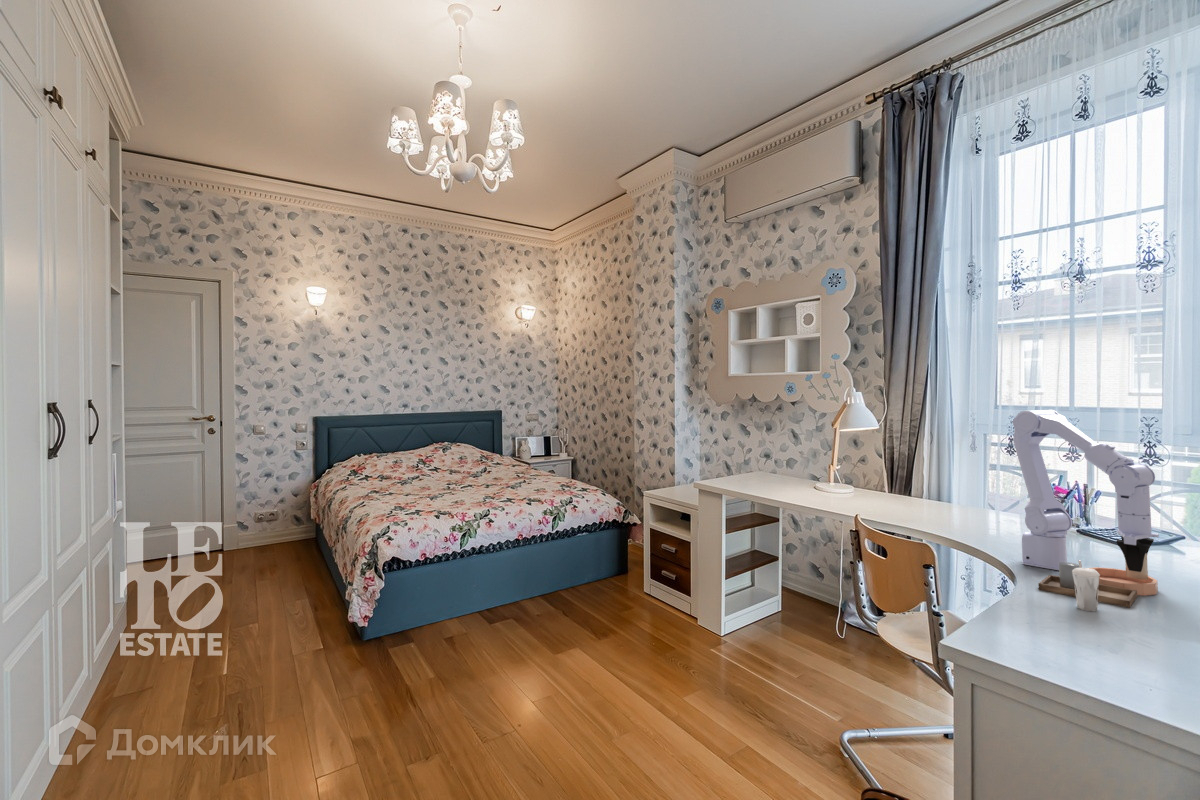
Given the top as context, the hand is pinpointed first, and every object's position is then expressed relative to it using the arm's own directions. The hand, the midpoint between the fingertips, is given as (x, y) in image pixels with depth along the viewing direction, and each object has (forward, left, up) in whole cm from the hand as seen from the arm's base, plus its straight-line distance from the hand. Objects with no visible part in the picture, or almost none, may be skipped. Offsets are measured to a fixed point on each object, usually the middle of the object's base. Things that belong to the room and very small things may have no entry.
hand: (1136, 569), depth 128 cm
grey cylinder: (-10, -12, -5) cm, 16 cm away
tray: (-7, -12, -5) cm, 15 cm away
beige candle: (0, 0, -2) cm, 2 cm away
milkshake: (-5, -24, -5) cm, 25 cm away
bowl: (-3, 0, -5) cm, 6 cm away
